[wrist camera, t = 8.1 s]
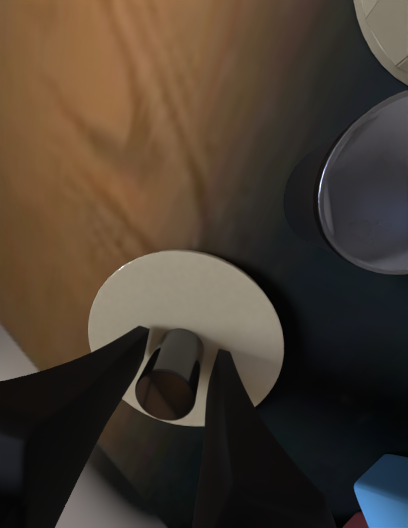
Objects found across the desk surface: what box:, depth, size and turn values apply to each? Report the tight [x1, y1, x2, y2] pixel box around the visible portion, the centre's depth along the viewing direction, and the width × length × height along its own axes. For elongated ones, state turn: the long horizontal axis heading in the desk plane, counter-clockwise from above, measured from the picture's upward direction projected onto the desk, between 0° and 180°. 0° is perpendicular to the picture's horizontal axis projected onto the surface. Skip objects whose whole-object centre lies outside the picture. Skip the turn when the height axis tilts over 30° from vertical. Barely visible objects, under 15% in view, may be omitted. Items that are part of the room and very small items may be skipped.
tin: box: [284, 90, 408, 275], centre depth 8 cm, size 5×5×4 cm
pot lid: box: [88, 249, 284, 426], centre depth 11 cm, size 11×11×4 cm
